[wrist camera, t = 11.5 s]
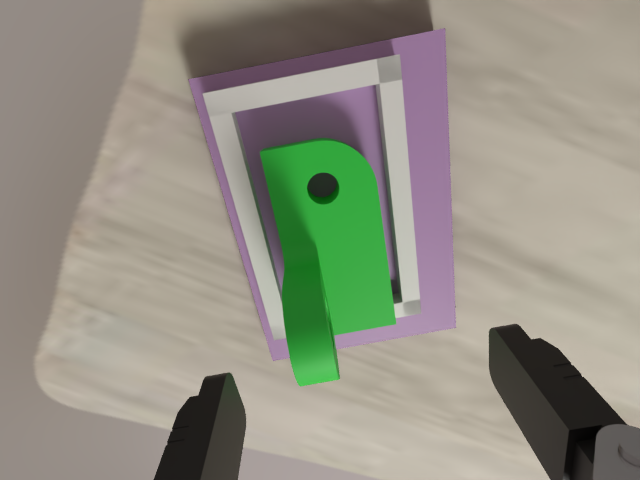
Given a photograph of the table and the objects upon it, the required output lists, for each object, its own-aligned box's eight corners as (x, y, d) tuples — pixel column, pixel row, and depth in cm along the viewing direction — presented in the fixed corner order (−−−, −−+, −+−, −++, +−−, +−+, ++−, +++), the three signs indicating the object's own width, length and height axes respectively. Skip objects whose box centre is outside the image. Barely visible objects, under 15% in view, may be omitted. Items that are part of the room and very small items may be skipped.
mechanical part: (389, 308, 26) (424, 389, 19) (303, 324, 26) (303, 411, 19) (364, 129, 22) (395, 138, 15) (263, 148, 22) (242, 167, 15)
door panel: (433, 30, 22) (453, 26, 19) (447, 313, 30) (462, 338, 28) (196, 78, 22) (182, 80, 20) (274, 345, 31) (272, 372, 28)
